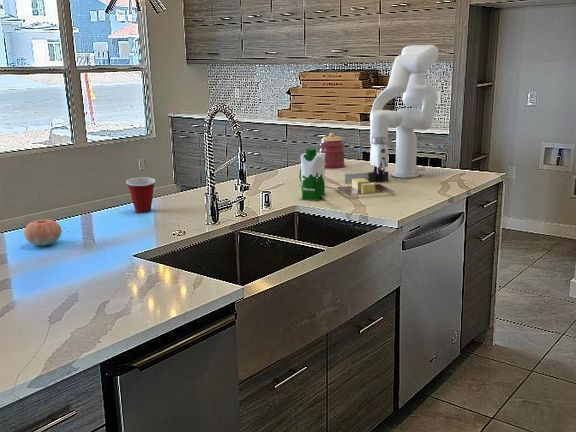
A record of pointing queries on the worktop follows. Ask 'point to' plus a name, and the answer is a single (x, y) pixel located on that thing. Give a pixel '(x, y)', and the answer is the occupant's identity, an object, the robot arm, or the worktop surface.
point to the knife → (365, 176)
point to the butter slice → (368, 188)
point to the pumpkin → (42, 232)
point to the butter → (359, 183)
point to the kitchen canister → (333, 151)
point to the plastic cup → (141, 193)
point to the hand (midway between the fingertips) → (377, 181)
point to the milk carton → (313, 175)
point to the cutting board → (352, 191)
